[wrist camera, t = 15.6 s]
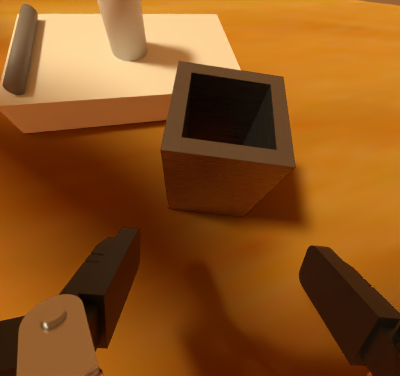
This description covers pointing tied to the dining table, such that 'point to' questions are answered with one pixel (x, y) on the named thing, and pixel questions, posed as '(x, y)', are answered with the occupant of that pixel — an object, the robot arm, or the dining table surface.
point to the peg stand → (102, 65)
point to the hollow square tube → (225, 139)
